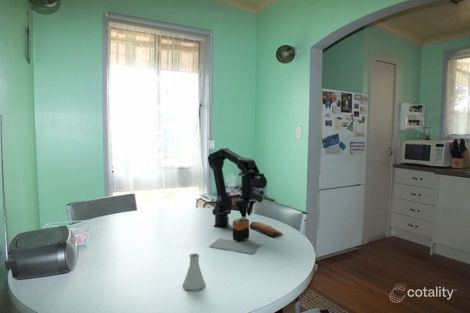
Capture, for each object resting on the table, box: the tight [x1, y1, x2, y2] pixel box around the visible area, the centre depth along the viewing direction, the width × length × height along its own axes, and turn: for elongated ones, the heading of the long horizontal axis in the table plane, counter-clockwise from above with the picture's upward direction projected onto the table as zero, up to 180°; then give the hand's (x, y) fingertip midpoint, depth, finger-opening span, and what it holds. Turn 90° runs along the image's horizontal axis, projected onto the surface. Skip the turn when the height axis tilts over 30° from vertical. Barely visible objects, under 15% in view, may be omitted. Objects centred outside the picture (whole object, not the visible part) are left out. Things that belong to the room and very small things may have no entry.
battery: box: [232, 216, 250, 242], centre depth 133 cm, size 4×7×10 cm, turn 133°
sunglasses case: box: [249, 221, 284, 238], centre depth 147 cm, size 18×7×7 cm, turn 37°
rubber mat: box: [208, 237, 261, 256], centre depth 126 cm, size 20×11×1 cm, turn 69°
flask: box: [182, 253, 206, 292], centre depth 92 cm, size 7×7×10 cm
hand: (246, 217), depth 140 cm, fingers open, 7 cm apart
